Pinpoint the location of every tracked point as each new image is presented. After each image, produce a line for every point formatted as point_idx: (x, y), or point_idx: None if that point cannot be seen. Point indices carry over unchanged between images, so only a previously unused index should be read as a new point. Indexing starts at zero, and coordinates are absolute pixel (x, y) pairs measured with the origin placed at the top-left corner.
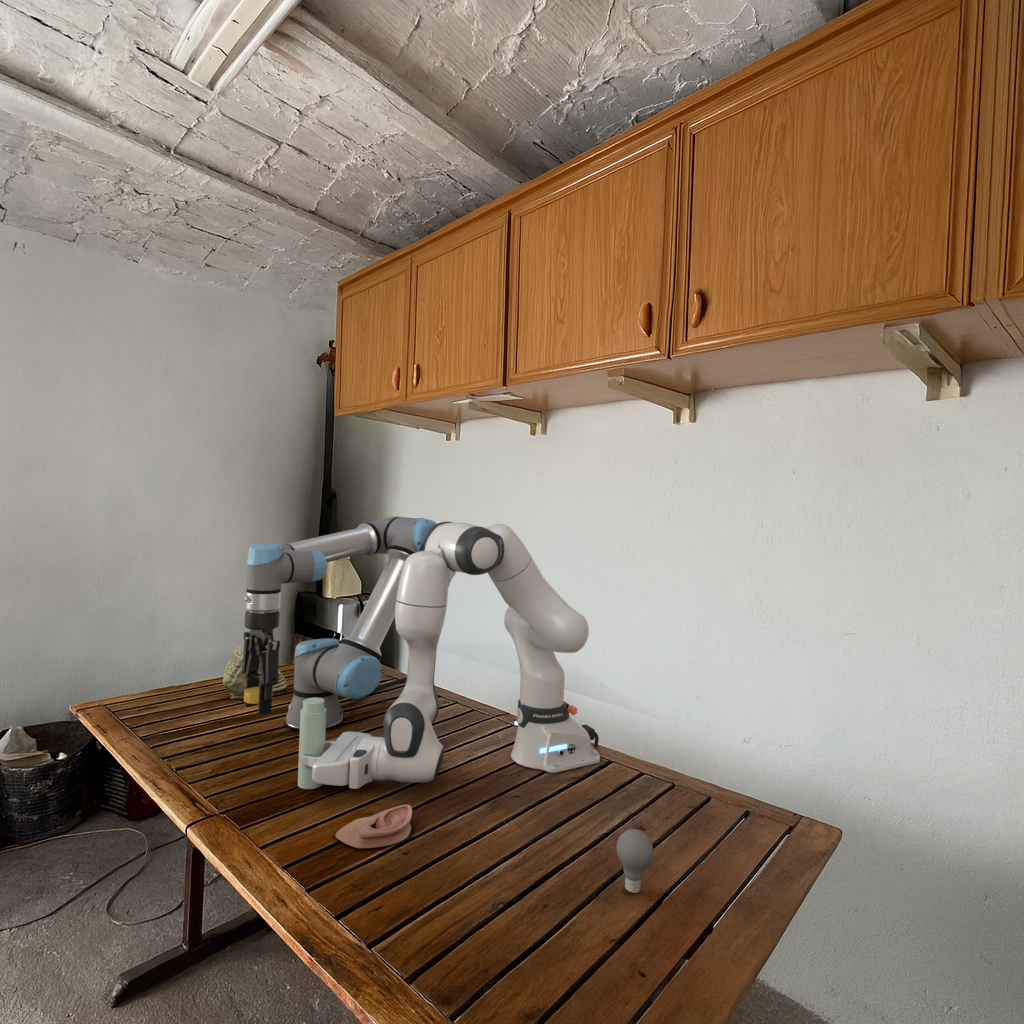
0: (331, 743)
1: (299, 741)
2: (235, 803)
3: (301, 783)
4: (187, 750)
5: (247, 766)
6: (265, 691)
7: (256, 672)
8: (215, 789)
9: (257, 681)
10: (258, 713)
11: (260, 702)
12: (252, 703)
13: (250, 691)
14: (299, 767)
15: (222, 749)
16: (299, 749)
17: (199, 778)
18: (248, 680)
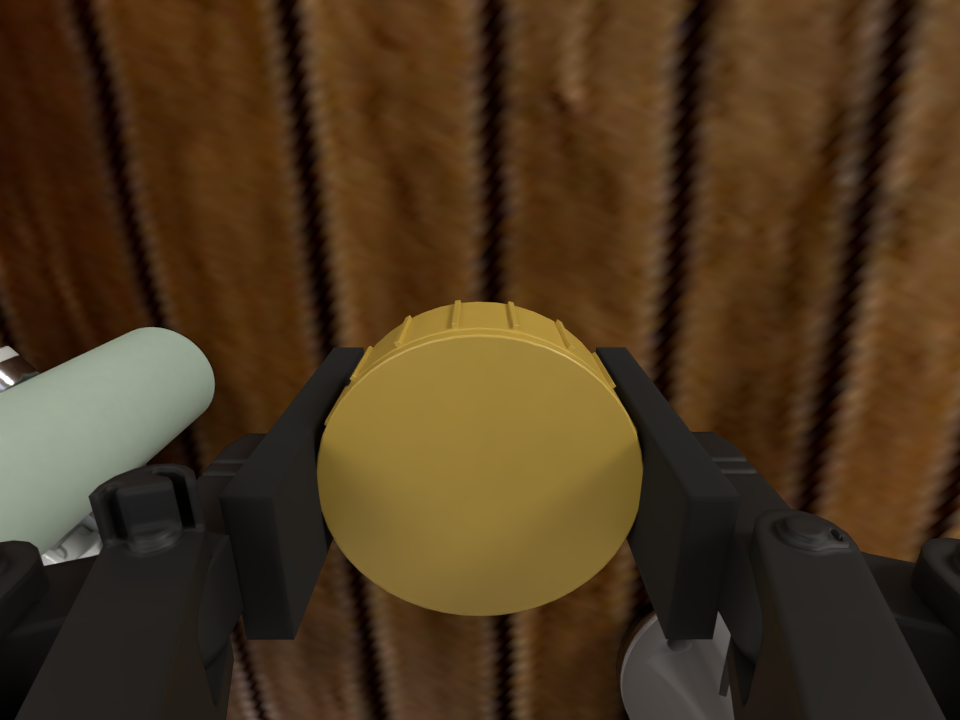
0: (86, 551)
1: (13, 412)
2: (133, 33)
3: (125, 334)
4: (904, 101)
5: (495, 255)
6: (201, 493)
7: (734, 688)
8: (337, 18)
9: (653, 583)
10: (357, 349)
11: (301, 394)
12: (383, 339)
13: (485, 399)
14: (99, 354)
15: (771, 249)
16: (43, 390)
17: (514, 5)
18: (682, 495)
